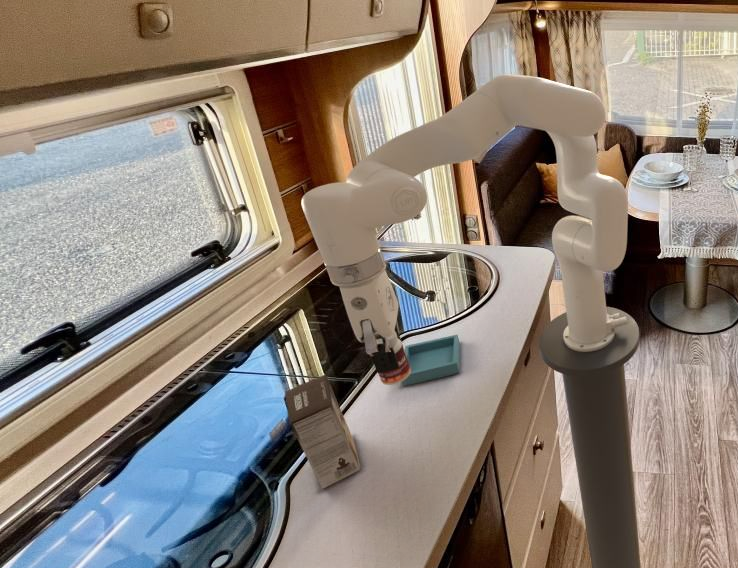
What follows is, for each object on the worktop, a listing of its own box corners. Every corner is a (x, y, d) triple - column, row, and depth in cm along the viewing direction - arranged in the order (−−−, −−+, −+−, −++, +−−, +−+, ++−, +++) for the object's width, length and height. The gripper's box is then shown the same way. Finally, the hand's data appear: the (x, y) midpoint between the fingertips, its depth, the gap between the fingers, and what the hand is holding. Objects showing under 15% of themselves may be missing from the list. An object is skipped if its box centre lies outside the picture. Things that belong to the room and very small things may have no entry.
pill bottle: (389, 390, 81) (374, 350, 77) (376, 377, 84) (360, 338, 80) (416, 373, 84) (403, 334, 80) (403, 361, 87) (389, 323, 83)
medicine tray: (459, 343, 119) (457, 334, 118) (459, 372, 110) (456, 363, 109) (408, 355, 116) (405, 345, 115) (403, 386, 107) (399, 376, 106)
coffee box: (315, 455, 92) (283, 389, 85) (353, 437, 95) (326, 372, 88) (321, 490, 85) (288, 422, 78) (362, 469, 89) (333, 402, 82)
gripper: (375, 288, 68) (410, 388, 76) (390, 235, 83) (418, 323, 91) (314, 301, 66) (357, 401, 74) (340, 244, 81) (373, 334, 89)
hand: (390, 358), depth 82 cm, fingers closed on pill bottle, 4 cm apart
